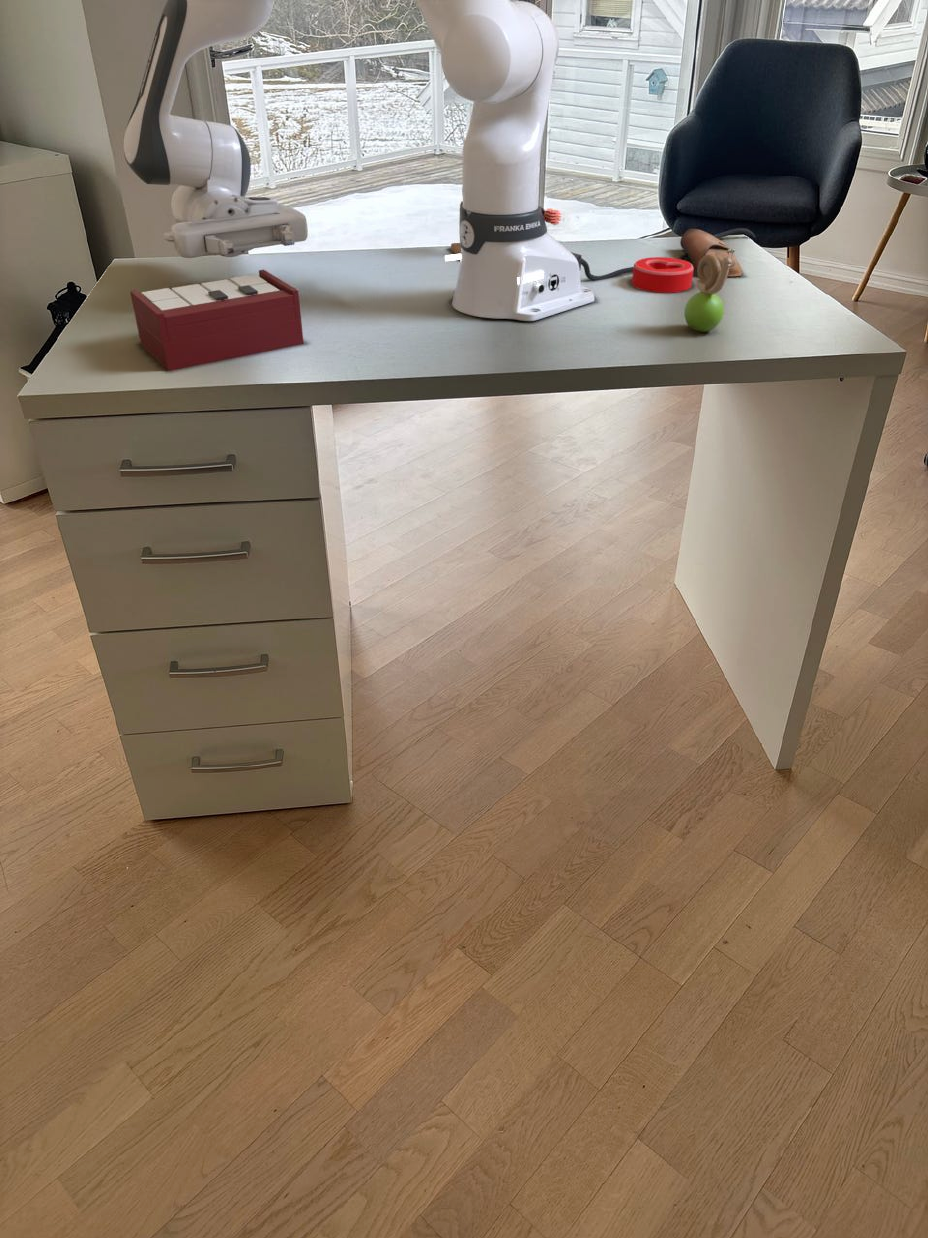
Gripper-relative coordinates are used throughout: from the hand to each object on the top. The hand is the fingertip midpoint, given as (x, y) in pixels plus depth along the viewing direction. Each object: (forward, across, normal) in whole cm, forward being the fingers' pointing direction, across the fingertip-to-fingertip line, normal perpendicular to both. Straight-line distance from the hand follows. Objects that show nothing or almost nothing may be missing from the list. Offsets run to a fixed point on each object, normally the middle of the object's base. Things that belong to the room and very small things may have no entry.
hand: (259, 243), depth 135 cm
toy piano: (+10, -11, +10) cm, 18 cm away
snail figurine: (+42, +49, +10) cm, 66 cm away
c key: (+6, -5, +4) cm, 9 cm away
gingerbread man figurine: (-12, +43, +10) cm, 46 cm away
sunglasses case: (+16, +76, +10) cm, 79 cm away
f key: (+6, -17, +4) cm, 19 cm away
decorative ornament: (+21, +60, +10) cm, 65 cm away
